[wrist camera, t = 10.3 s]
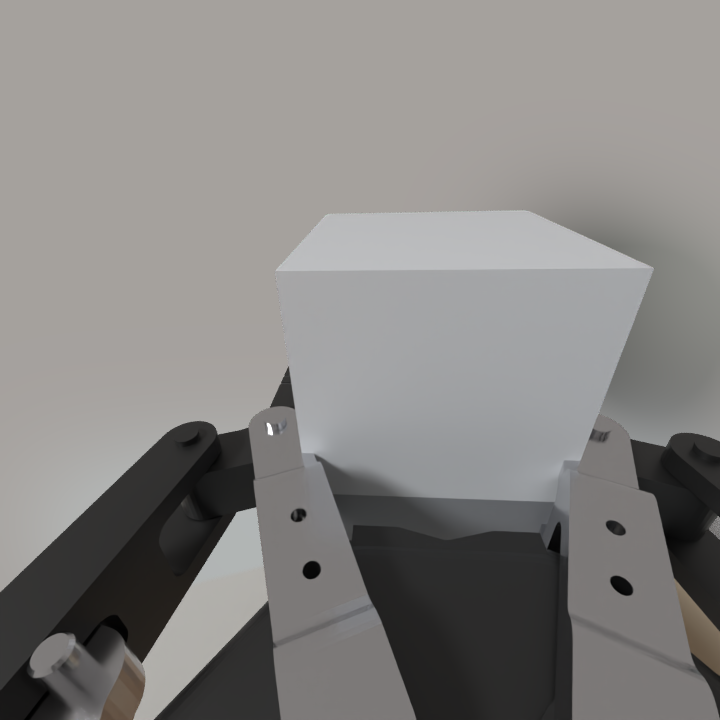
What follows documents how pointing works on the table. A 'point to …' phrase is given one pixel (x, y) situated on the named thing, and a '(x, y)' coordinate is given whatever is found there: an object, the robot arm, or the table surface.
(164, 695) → the table surface
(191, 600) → the table surface
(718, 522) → the table surface
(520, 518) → the block
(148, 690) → the table surface
